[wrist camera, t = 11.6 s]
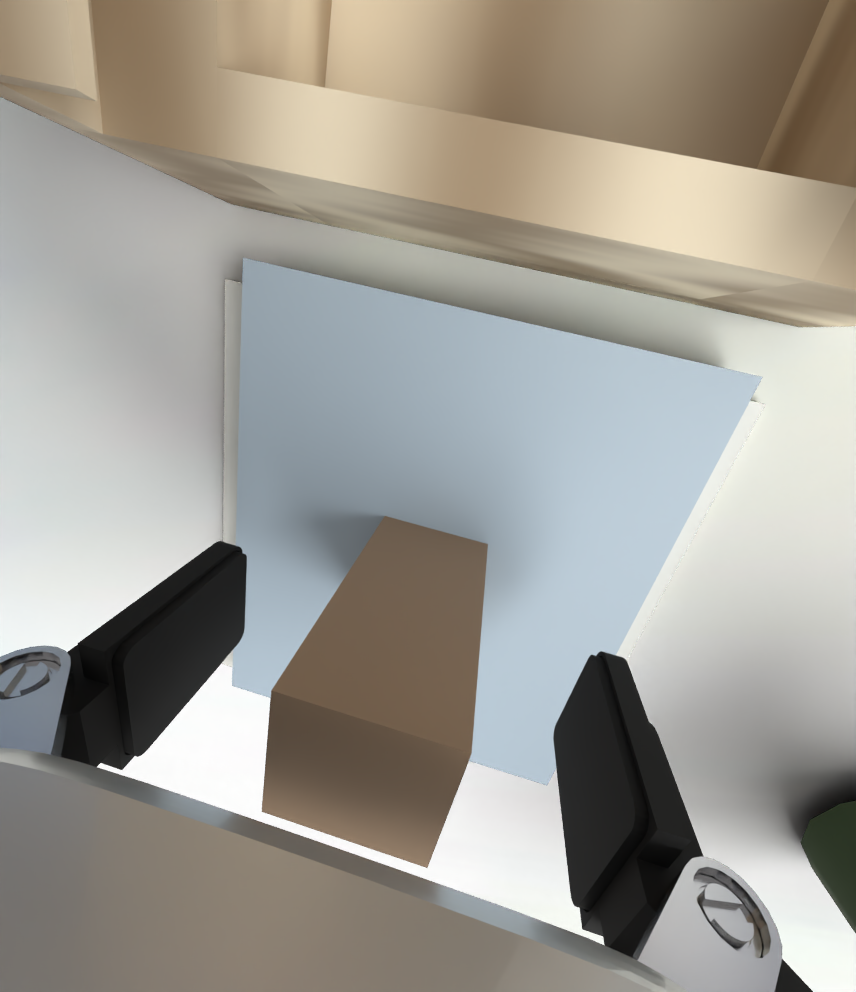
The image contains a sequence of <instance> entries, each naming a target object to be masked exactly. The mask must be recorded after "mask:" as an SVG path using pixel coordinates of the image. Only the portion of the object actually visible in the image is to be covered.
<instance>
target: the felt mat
mask: <svg viewBox="0 0 856 992" xmlns="http://www.w3.org/2000/svg"><path fill="white" fill-rule="evenodd" d="M241 313H242V283H241V282H237V281H233V280H228V279H225V341H224V476H223V542H225V543H229V544H232V545H236V513H237V473H238V433H239V393H240V353H241ZM765 405H766V404H763V403H759V402H755V401H750V402H749V404H748V406H747V408H746V409H745V411H744V413H743V415H742V417H741V419H740V421H739V423H738V425H737V427H736V428H735V430H734V432H733V434H732V436H731V438H730V440H729V442H728V444H727V445H726V447H725V449H724V451H723V453H722V455H721V457H720V459H719V461H718V463H717V464H716V466H715V468H714V470H713V472H712V474H711V476H710V478H709V480H708V481H707V483H706V485H705V487H704V489H703V491H702V493H701V495H700V497H699V499H698V500H697V502H696V504H695V506H694V508H693V510H692V512H691V514H690V516H689V517H688V519H687V521H686V523H685V525H684V527H683V529H682V531H681V533H680V535H679V536H678V538H677V540H676V542H675V544H674V546H673V548H672V550H671V552H670V553H669V555H668V557H667V559H666V561H665V563H664V565H663V567H662V569H661V571H660V572H659V574H658V576H657V578H656V580H655V582H654V584H653V586H652V588H651V589H650V591H649V593H648V595H647V597H646V599H645V601H644V603H643V605H642V607H641V608H640V610H639V612H638V614H637V616H636V618H635V620H634V622H633V624H632V625H631V627H630V629H629V631H628V633H627V635H626V637H625V639H624V641H623V643H622V644H621V646H620V648H619V650H618V652H617V654H616V656H620V657H623V658H625V659H626V661H627V660H628V658H629V656H630V654H631V652H632V651H633V649H634V647H635V645H636V643H637V641H638V639H639V638H640V636H641V634H642V632H643V630H644V628H645V627H646V625H647V623H648V621H649V619H650V617H651V616H652V614H653V612H654V610H655V608H656V606H657V604H658V603H659V601H660V599H661V597H662V595H663V593H664V592H665V590H666V588H667V586H668V584H669V582H670V580H671V579H672V577H673V575H674V573H675V571H676V569H677V568H678V566H679V564H680V562H681V560H682V558H683V556H684V555H685V553H686V551H687V549H688V547H689V545H690V544H691V542H692V540H693V538H694V536H695V534H696V532H697V531H698V529H699V527H700V525H701V523H702V521H703V520H704V518H705V516H706V514H707V512H708V510H709V509H710V507H711V505H712V503H713V501H714V499H715V497H716V496H717V494H718V492H719V490H720V488H721V486H722V485H723V483H724V481H725V479H726V477H727V475H728V473H729V472H730V470H731V468H732V466H733V464H734V462H735V461H736V459H737V457H738V455H739V453H740V451H741V449H742V448H743V446H744V444H745V442H746V440H747V438H748V437H749V435H750V433H751V431H752V429H753V427H754V425H755V424H756V422H757V420H758V418H759V416H760V414H761V413H762V411H763V409H764V407H765ZM222 664H224V665H227V666H230V667H233V650H232V651H231V653H230V654H229V655H228V656H227V657H226V658H225V660H224V661H223V662H222Z"/></svg>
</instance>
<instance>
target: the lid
mask: <svg viewBox="0 0 856 992" xmlns="http://www.w3.org/2000/svg"><path fill="white" fill-rule="evenodd" d="M761 379H762V377H760V376H756V375H751V374H747V373H743V372H738V371H734V370H730V369H725V368H721V367H717V366H712V365H708V364H704V363H699V362H695V361H690V360H686V359H682V358H677V357H673V356H669V355H664V354H660V353H656V352H651V351H647V350H643V349H638V348H634V347H630V346H625V345H621V344H617V343H612V342H608V341H604V340H599V339H595V338H590V337H586V336H582V335H577V334H573V333H569V332H564V331H560V330H556V329H551V328H547V327H543V326H538V325H534V324H530V323H525V322H521V321H517V320H512V319H508V318H504V317H499V316H495V315H490V314H486V313H482V312H477V311H473V310H469V309H464V308H460V307H456V306H451V305H447V304H443V303H438V302H434V301H430V300H425V299H421V298H417V297H412V296H408V295H404V294H399V293H395V292H390V291H386V290H382V289H377V288H373V287H369V286H364V285H360V284H356V283H351V282H347V281H343V280H338V279H334V278H330V277H325V276H321V275H317V274H312V273H308V272H304V271H299V270H295V269H290V268H286V267H282V266H277V265H273V264H269V263H264V262H260V261H256V260H251V259H247V258H243V273H242V313H241V353H240V393H239V433H238V473H237V513H236V546H239V547H241V549H242V552H243V553H244V554H246V556H247V572H246V603H245V629H244V634H243V636H242V639H241V640H240V642H239V643H238V644H237V646H236V647H235V648H234V649H233V673H232V686H235V687H238V688H241V689H244V690H247V691H250V692H253V693H257V694H260V695H263V696H266V697H269V698H271V701H270V713H269V726H268V739H267V751H266V764H265V777H264V789H263V802H262V812H264V813H267V814H270V815H273V816H276V817H279V818H282V819H285V820H288V821H291V822H294V823H297V824H300V825H303V826H306V827H309V828H312V829H314V830H317V831H320V832H323V833H326V834H329V835H332V836H335V837H338V838H341V839H344V840H347V841H350V842H353V843H356V844H359V845H362V846H364V847H367V848H370V849H373V850H376V851H379V852H382V853H385V854H388V855H391V856H394V857H397V858H400V859H403V860H406V861H409V862H411V863H414V864H417V865H420V866H423V867H426V868H427V867H428V864H429V862H430V859H431V857H432V854H433V852H434V849H435V846H436V844H437V841H438V839H439V836H440V834H441V831H442V828H443V826H444V823H445V821H446V818H447V816H448V813H449V810H450V808H451V805H452V803H453V800H454V797H455V795H456V792H457V790H458V787H459V785H460V782H461V779H462V777H463V774H464V772H465V769H466V767H467V764H468V761H471V762H474V763H478V764H481V765H484V766H487V767H490V768H493V769H497V770H500V771H503V772H506V773H509V774H512V775H515V776H519V777H522V778H525V779H528V780H531V781H534V782H538V783H541V784H544V785H548V783H549V781H550V779H551V777H552V775H553V773H554V771H555V769H556V759H555V750H554V741H553V735H554V729H555V725H556V723H557V721H558V719H559V717H560V715H561V713H562V711H563V709H564V707H565V705H566V703H567V700H568V698H569V696H570V694H571V692H572V690H573V688H574V686H575V684H576V682H577V680H578V678H579V676H580V674H581V672H582V670H583V668H584V666H585V664H586V662H587V660H588V658H589V656H590V655H595V656H596V655H597V654H598V653H599V652H600V651H603V652H606V653H610V654H613V655H616V654H617V652H618V650H619V648H620V646H621V644H622V643H623V641H624V639H625V637H626V635H627V633H628V631H629V629H630V627H631V625H632V624H633V622H634V620H635V618H636V616H637V614H638V612H639V610H640V608H641V607H642V605H643V603H644V601H645V599H646V597H647V595H648V593H649V591H650V589H651V588H652V586H653V584H654V582H655V580H656V578H657V576H658V574H659V572H660V571H661V569H662V567H663V565H664V563H665V561H666V559H667V557H668V555H669V553H670V552H671V550H672V548H673V546H674V544H675V542H676V540H677V538H678V536H679V535H680V533H681V531H682V529H683V527H684V525H685V523H686V521H687V519H688V517H689V516H690V514H691V512H692V510H693V508H694V506H695V504H696V502H697V500H698V499H699V497H700V495H701V493H702V491H703V489H704V487H705V485H706V483H707V481H708V480H709V478H710V476H711V474H712V472H713V470H714V468H715V466H716V464H717V463H718V461H719V459H720V457H721V455H722V453H723V451H724V449H725V447H726V445H727V444H728V442H729V440H730V438H731V436H732V434H733V432H734V430H735V428H736V427H737V425H738V423H739V421H740V419H741V417H742V415H743V413H744V411H745V409H746V408H747V406H748V404H749V402H750V400H751V398H752V396H753V394H754V392H755V391H756V389H757V387H758V385H759V383H760V381H761Z"/></svg>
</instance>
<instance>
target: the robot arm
mask: <svg viewBox="0 0 856 992" xmlns="http://www.w3.org/2000/svg"><path fill="white" fill-rule="evenodd" d="M246 572H247V556H246V554H244V553H243V552H242V549H241V547H239V546H236V545H232V544H229V543H225V542H222V541H218V542H216V543H215V544H213V545H212V546H211V547H209V548H208V549H206V550H205V551H204V552H202V553H201V554H200V555H198V556H197V557H195V558H194V559H193V560H191V561H190V562H189V563H187V564H186V565H185V566H183V567H182V568H180V569H179V570H178V571H176V572H175V573H174V574H172V575H171V576H169V577H168V578H167V579H165V580H164V581H163V582H161V583H160V584H158V585H157V586H156V587H154V588H153V589H152V590H150V591H149V592H148V593H146V594H145V595H143V596H142V597H141V598H139V599H138V600H137V601H135V602H134V603H132V604H131V605H130V606H128V607H127V608H126V609H124V610H123V611H122V612H120V613H119V614H117V615H116V616H115V617H113V618H112V619H111V620H109V621H108V622H106V623H105V624H104V625H102V626H101V627H100V628H98V629H97V630H95V631H94V632H93V633H91V634H90V635H89V636H87V637H86V638H85V639H83V640H82V641H80V642H79V643H78V645H77V646H75V647H74V648H72V649H71V650H70V651H68V652H66V651H65V650H63V649H60V648H58V647H52V646H36V647H29V648H25V649H21V650H17V651H14V652H11V653H9V654H6V655H4V656H1V657H0V992H813V991H812V990H811V989H810V988H809V987H808V986H807V985H806V984H805V983H804V982H803V981H802V980H801V978H800V977H799V976H798V975H797V974H796V973H795V972H794V971H793V970H792V969H791V968H790V967H789V966H788V965H787V964H786V963H785V961H784V960H783V959H782V944H781V940H780V937H779V933H778V930H777V927H776V925H775V923H774V921H773V919H772V917H771V915H770V913H769V911H768V910H767V908H766V907H765V905H764V904H763V902H762V901H761V900H760V898H759V897H758V895H757V894H756V893H755V892H754V890H753V889H752V888H751V887H750V886H749V885H748V884H747V883H746V882H745V881H744V880H743V879H742V878H741V877H740V876H739V875H737V874H736V873H735V872H734V871H732V870H731V869H730V868H729V867H727V866H725V865H724V864H722V863H720V862H718V861H716V860H714V859H711V858H706V857H703V854H702V852H701V849H700V846H699V843H698V841H697V838H696V835H695V833H694V830H693V827H692V825H691V822H690V819H689V817H688V814H687V811H686V809H685V806H684V803H683V801H682V798H681V795H680V792H679V790H678V787H677V784H676V782H675V779H674V776H673V774H672V771H671V768H670V766H669V763H668V760H667V758H666V755H665V752H664V750H663V747H662V744H661V742H660V739H659V736H658V734H657V732H656V730H655V728H654V726H653V725H652V724H651V723H649V721H648V718H647V716H646V713H645V710H644V707H643V705H642V702H641V699H640V696H639V694H638V691H637V688H636V685H635V682H634V680H633V677H632V674H631V671H630V669H629V666H628V663H627V661H626V659H625V658H623V657H620V656H616V655H613V654H610V653H606V652H603V651H600V652H599V653H598V654H597V655H596V656H595V655H590V656H589V658H588V660H587V662H586V664H585V666H584V668H583V670H582V672H581V674H580V676H579V678H578V680H577V682H576V684H575V686H574V688H573V690H572V692H571V694H570V696H569V698H568V700H567V703H566V705H565V707H564V709H563V711H562V713H561V715H560V717H559V719H558V721H557V723H556V725H555V729H554V735H553V741H554V750H555V759H556V768H557V777H558V786H559V794H560V803H561V812H562V821H563V830H564V839H565V848H566V856H567V865H568V874H569V883H570V892H571V898H572V901H573V904H574V905H575V906H576V907H579V908H580V914H581V922H582V929H583V930H586V931H589V932H592V933H595V934H598V935H601V936H603V937H604V944H605V946H604V945H602V944H600V943H597V942H595V941H593V940H590V939H588V938H586V937H583V936H580V935H578V934H575V933H572V932H570V931H567V930H564V929H562V928H559V927H556V926H554V925H551V924H548V923H546V922H543V921H540V920H538V919H535V918H532V917H530V916H527V915H524V914H522V913H519V912H516V911H514V910H511V909H508V908H505V907H503V906H500V905H497V904H494V903H491V902H488V901H486V900H483V899H480V898H477V897H474V896H471V895H469V894H466V893H463V892H460V891H457V890H454V889H452V888H449V887H446V886H443V885H440V884H437V883H435V882H432V881H429V880H426V879H423V878H420V877H418V876H415V875H412V874H409V873H406V872H403V871H401V870H398V869H395V868H392V867H389V866H386V865H383V864H381V863H378V862H375V861H372V860H369V859H366V858H363V857H360V856H358V855H355V854H352V853H349V852H346V851H343V850H340V849H337V848H335V847H332V846H329V845H326V844H323V843H320V842H317V841H314V840H311V839H309V838H306V837H303V836H300V835H297V834H294V833H291V832H288V831H285V830H282V829H280V828H277V827H274V826H271V825H268V824H265V823H262V822H259V821H256V820H254V819H251V818H248V817H245V816H242V815H239V814H236V813H233V812H230V811H227V810H224V809H221V808H218V807H215V806H212V805H209V804H206V803H203V802H201V801H198V800H195V799H192V798H189V797H186V796H183V795H180V794H177V793H174V792H171V791H168V790H165V789H162V788H159V787H156V786H153V785H151V784H148V783H144V782H141V781H138V780H135V779H132V778H129V777H125V776H122V775H119V774H116V773H113V772H110V771H107V770H103V769H100V768H97V766H98V765H99V764H100V763H103V764H106V765H109V766H112V767H115V768H117V769H120V770H123V768H124V767H125V766H126V765H127V764H128V763H129V762H130V760H131V759H132V758H133V757H134V756H137V757H138V756H141V755H142V754H143V753H145V751H146V750H147V749H148V748H149V747H150V746H151V745H152V744H153V742H154V741H155V740H156V739H157V738H158V737H159V735H160V734H161V733H162V732H163V731H164V730H165V728H166V727H167V726H168V725H169V724H170V723H171V721H172V720H173V719H174V718H175V717H176V716H177V714H178V713H179V712H180V711H181V710H182V709H183V707H184V706H185V705H186V704H187V703H188V702H189V700H190V699H191V698H192V697H193V696H194V695H195V693H196V692H197V691H198V690H199V689H200V688H201V686H202V685H203V684H204V683H205V682H206V681H207V679H208V678H209V677H210V676H211V675H212V674H213V672H214V671H215V670H216V669H217V668H218V667H219V665H220V664H221V663H222V662H223V661H224V660H225V658H226V657H227V656H228V655H229V654H230V653H231V651H232V650H233V649H234V648H235V647H236V646H237V644H238V643H239V642H240V640H241V639H242V636H243V634H244V629H245V603H246Z"/></svg>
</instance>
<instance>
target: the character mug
mask: <svg viewBox="0 0 856 992" xmlns="http://www.w3.org/2000/svg"><path fill="white" fill-rule="evenodd" d="M801 844H802V847H803V849H804V851H805V853H806V856H807V858H808V860H809V862H810V865H811V867H812V869H813V870H814V872H815V873H816V875H817V876H818V878H819V879H820V881H821V882H822V884H823V885H824V887H825V888H826V890H827V891H828V893H829V894H830V896H831V897H832V899H833V900H834V902H835V903H836V905H837V906H838V908H839V909H840V911H841V912H842V914H843V915H844V917H845V918H846V920H847V921H848V923H849V924H850V926H851V927H852V929H853V930H854V932H855V933H856V801H852V802H847V803H841V804H839V805H837V806H835V807H833V808H831V809H829V810H828V811H826V812H824V813H822V814H820V815H818V816H816V817H814V818H813V819H811V820H810V821H809V824H808V826H807V828H806V831H805V833H804V836H803V838H802V840H801Z"/></svg>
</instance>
